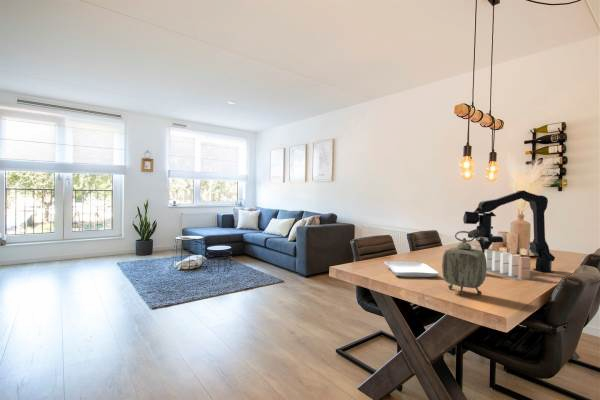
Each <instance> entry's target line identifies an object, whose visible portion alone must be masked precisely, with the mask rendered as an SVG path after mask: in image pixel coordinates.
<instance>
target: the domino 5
mask: <svg viewBox="0 0 600 400" xmlns="http://www.w3.org/2000/svg"><path fill="white" fill-rule="evenodd" d="M530 277H531V256H521V257H519V260H518V278H519V279H530Z"/></svg>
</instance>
